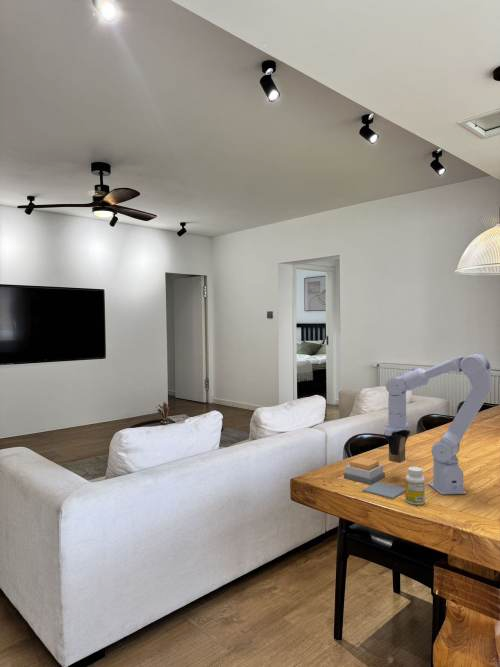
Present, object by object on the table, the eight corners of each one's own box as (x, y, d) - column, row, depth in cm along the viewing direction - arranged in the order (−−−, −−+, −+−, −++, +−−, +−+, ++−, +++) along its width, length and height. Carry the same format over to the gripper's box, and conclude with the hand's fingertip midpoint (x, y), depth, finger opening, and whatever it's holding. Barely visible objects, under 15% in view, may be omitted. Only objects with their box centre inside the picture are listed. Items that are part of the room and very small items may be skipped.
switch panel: (384, 476, 159) (384, 465, 159) (370, 484, 151) (370, 472, 151) (358, 470, 166) (358, 459, 166) (343, 477, 158) (343, 466, 158)
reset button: (378, 466, 159) (378, 461, 159) (368, 471, 154) (368, 465, 153) (360, 462, 163) (360, 457, 163) (349, 467, 158) (349, 461, 158)
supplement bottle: (409, 496, 141) (409, 464, 141) (427, 501, 137) (427, 468, 137) (402, 502, 137) (402, 469, 136) (421, 506, 133) (421, 472, 133)
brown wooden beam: (405, 460, 157) (405, 436, 157) (400, 463, 154) (400, 438, 154) (394, 458, 160) (393, 434, 159) (388, 460, 157) (388, 437, 157)
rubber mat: (407, 490, 146) (407, 488, 146) (393, 499, 139) (393, 497, 139) (377, 482, 153) (377, 481, 153) (362, 491, 146) (362, 489, 146)
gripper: (395, 408, 164) (395, 446, 165) (376, 414, 154) (376, 455, 154) (415, 410, 160) (415, 450, 160) (396, 417, 149) (396, 459, 149)
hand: (397, 453), depth 157 cm, fingers closed on brown wooden beam, 4 cm apart
